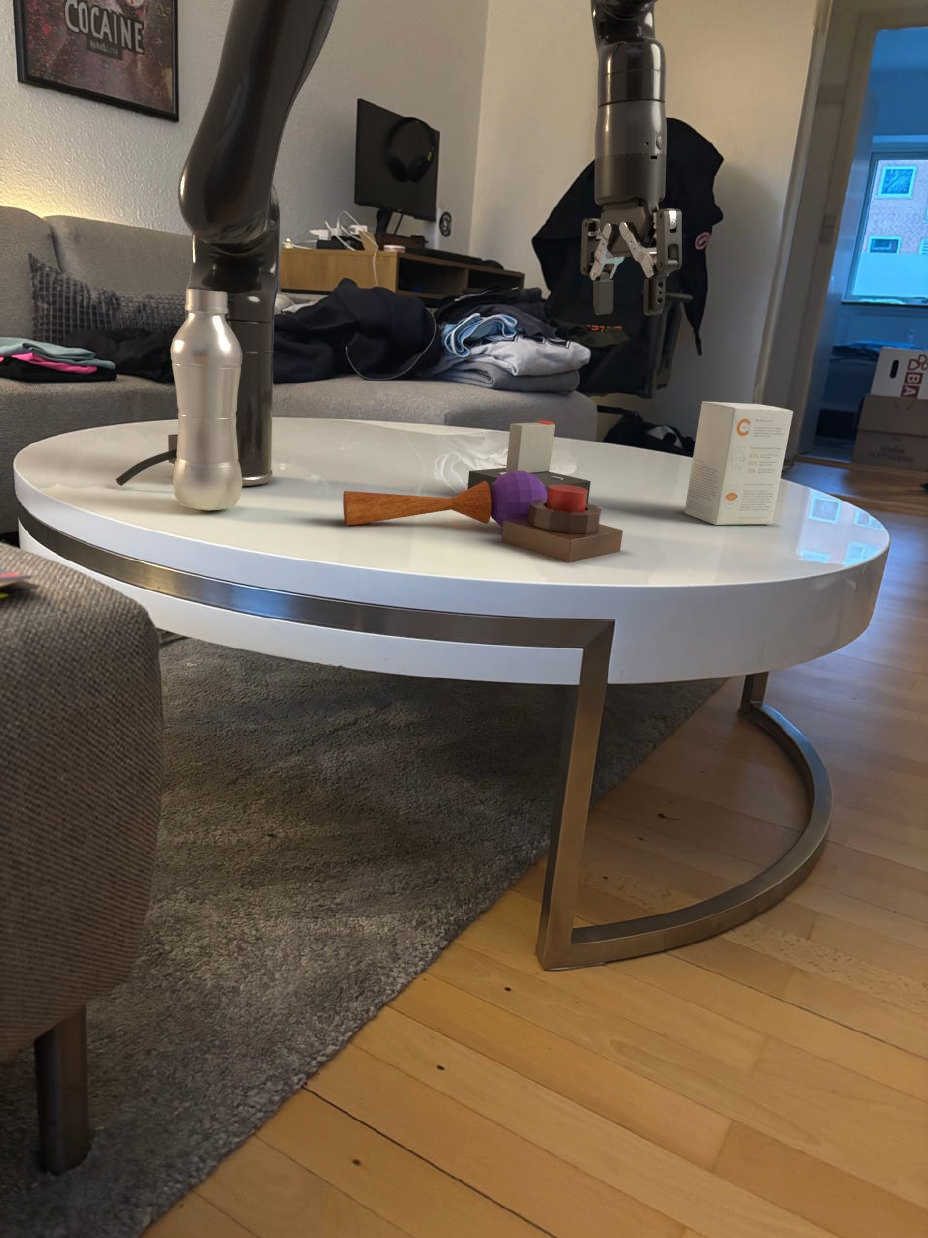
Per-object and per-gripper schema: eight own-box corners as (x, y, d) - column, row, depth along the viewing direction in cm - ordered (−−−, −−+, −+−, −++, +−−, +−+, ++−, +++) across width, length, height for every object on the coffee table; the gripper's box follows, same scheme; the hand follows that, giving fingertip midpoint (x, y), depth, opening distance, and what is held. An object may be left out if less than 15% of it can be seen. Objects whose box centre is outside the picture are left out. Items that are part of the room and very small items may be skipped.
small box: (738, 513, 111) (758, 403, 106) (772, 525, 105) (795, 410, 101) (682, 512, 108) (700, 399, 103) (714, 525, 102) (735, 406, 98)
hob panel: (532, 514, 99) (535, 485, 98) (453, 493, 107) (455, 466, 106) (598, 504, 108) (601, 478, 107) (520, 485, 115) (523, 460, 114)
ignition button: (568, 515, 82) (571, 493, 82) (538, 507, 85) (540, 485, 84) (592, 512, 85) (595, 490, 84) (562, 504, 87) (564, 483, 87)
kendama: (340, 476, 89) (536, 469, 93) (343, 538, 90) (537, 528, 94) (347, 476, 83) (555, 469, 88) (350, 542, 84) (556, 531, 89)
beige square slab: (517, 474, 105) (522, 423, 103) (505, 471, 106) (510, 421, 104) (549, 471, 109) (555, 422, 107) (538, 468, 110) (543, 420, 109)
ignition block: (568, 564, 81) (573, 519, 79) (500, 543, 86) (505, 501, 84) (620, 552, 86) (626, 511, 85) (553, 534, 91) (558, 494, 90)
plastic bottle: (251, 505, 92) (253, 294, 85) (228, 520, 85) (229, 292, 79) (188, 499, 92) (186, 288, 85) (161, 512, 86) (156, 286, 79)
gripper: (561, 162, 102) (563, 316, 107) (648, 143, 90) (644, 316, 95) (614, 164, 105) (613, 312, 111) (704, 145, 93) (697, 312, 99)
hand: (627, 314), depth 103 cm, fingers open, 8 cm apart
